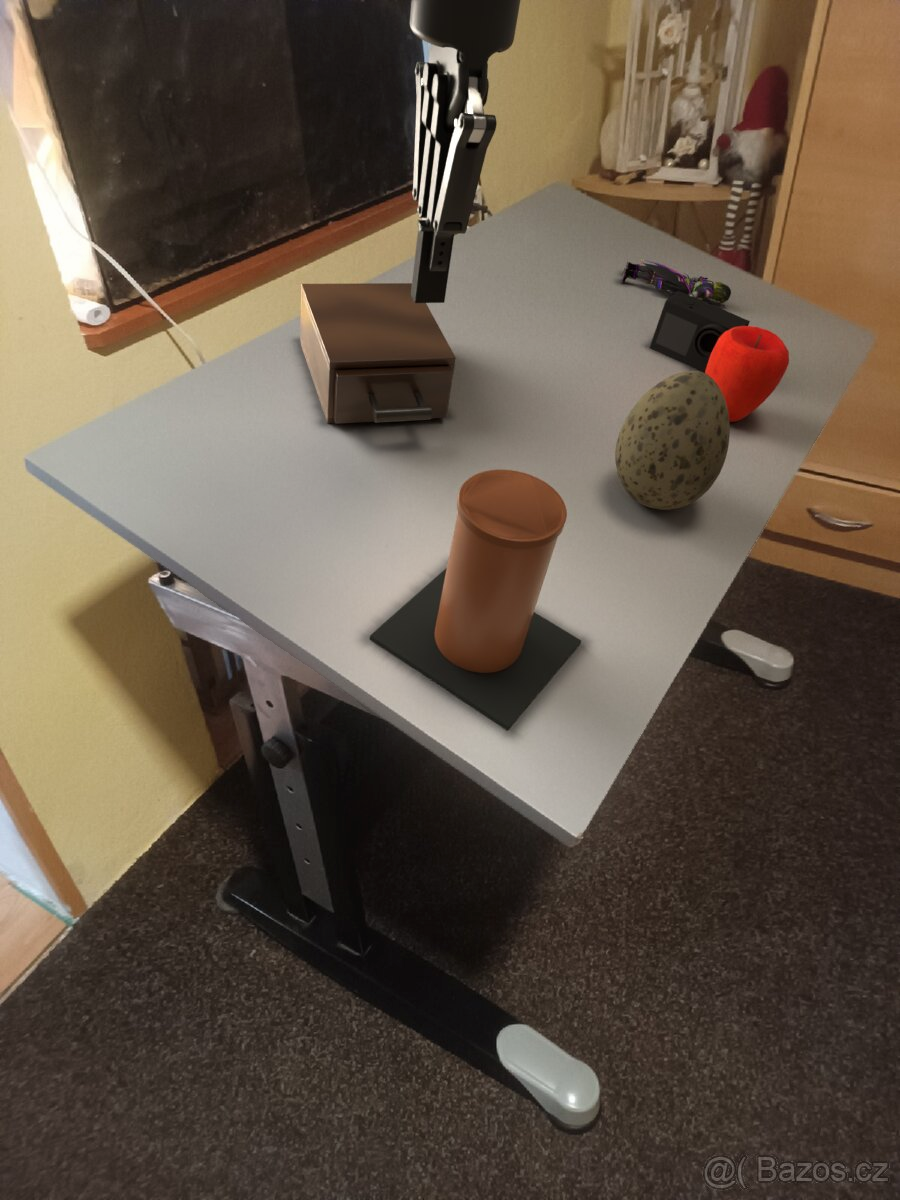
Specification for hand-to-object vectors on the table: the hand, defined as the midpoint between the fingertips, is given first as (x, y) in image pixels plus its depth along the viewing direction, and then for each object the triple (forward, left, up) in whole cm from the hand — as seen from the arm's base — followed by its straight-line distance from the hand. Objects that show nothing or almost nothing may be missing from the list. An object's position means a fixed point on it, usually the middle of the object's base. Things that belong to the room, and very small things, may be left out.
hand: (427, 298), depth 73 cm
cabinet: (-7, +14, -18) cm, 24 cm away
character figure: (+31, +54, -19) cm, 65 cm away
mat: (+10, -22, -18) cm, 31 cm away
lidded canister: (+10, -22, -18) cm, 30 cm away
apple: (+36, +22, -19) cm, 46 cm away
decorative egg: (+26, +2, -19) cm, 32 cm away
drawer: (-5, +11, -18) cm, 21 cm away
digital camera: (+32, +34, -19) cm, 51 cm away
